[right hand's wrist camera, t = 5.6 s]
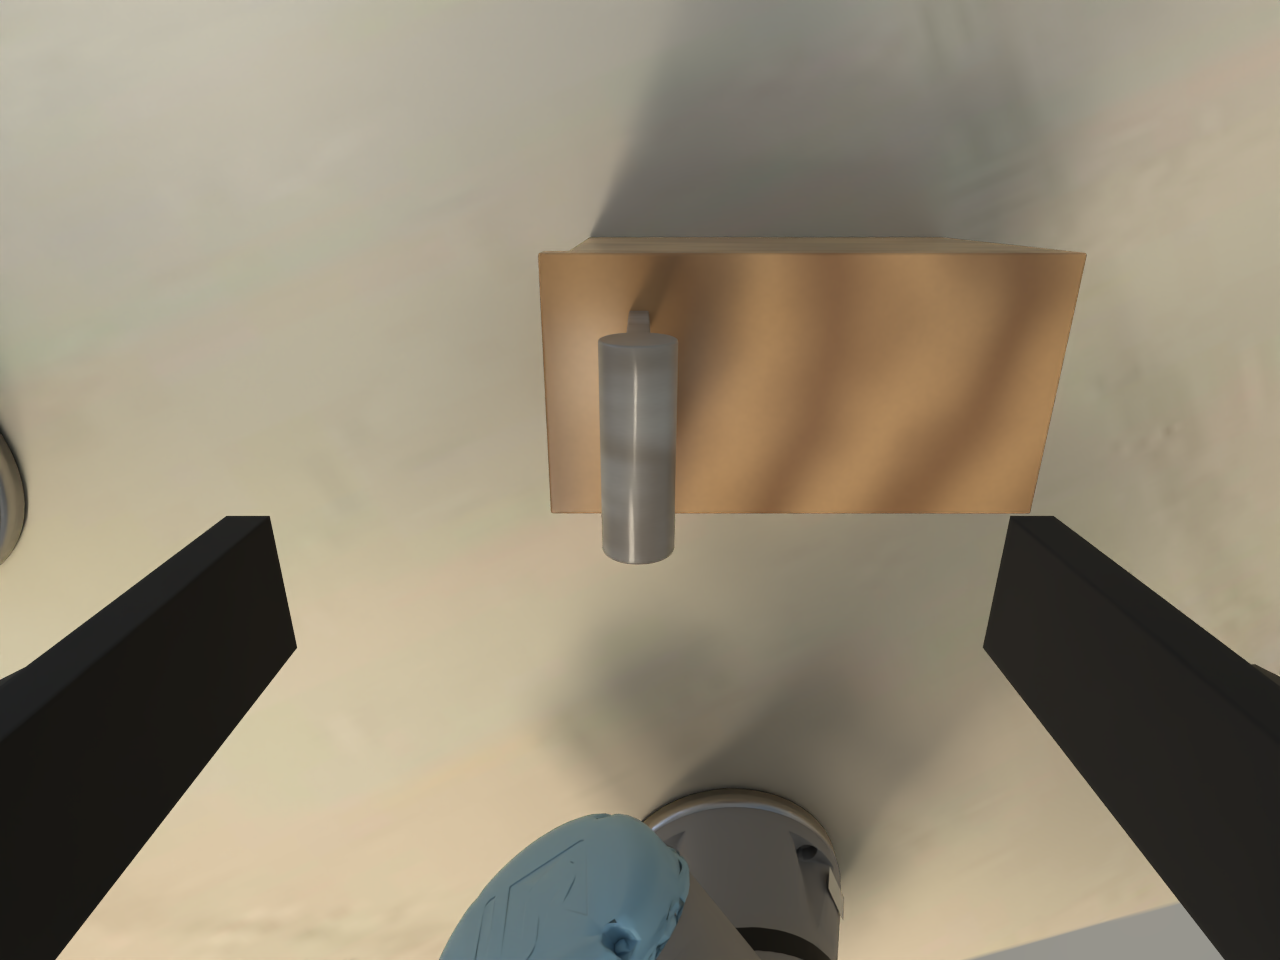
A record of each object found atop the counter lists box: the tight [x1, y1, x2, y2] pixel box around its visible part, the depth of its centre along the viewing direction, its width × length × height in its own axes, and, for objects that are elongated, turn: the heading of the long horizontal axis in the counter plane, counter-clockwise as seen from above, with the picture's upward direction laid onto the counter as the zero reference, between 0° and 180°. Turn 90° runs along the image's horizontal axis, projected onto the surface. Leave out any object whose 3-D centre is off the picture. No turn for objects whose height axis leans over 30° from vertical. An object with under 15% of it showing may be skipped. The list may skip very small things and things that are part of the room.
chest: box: [570, 237, 1063, 251], centre depth 32 cm, size 18×10×11 cm, turn 90°
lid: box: [538, 251, 1086, 564], centre depth 22 cm, size 18×10×8 cm, turn 90°
